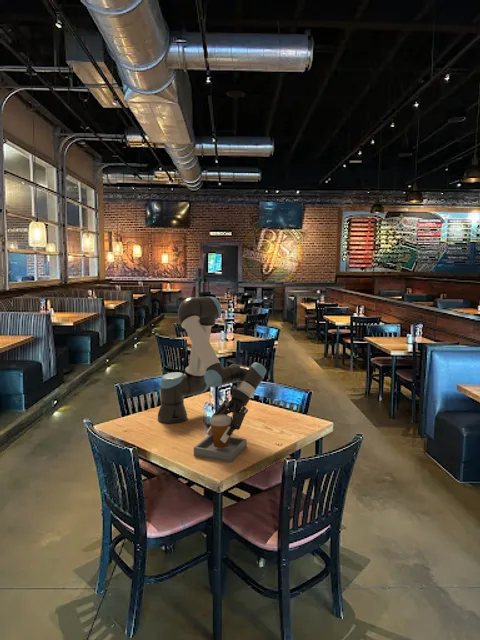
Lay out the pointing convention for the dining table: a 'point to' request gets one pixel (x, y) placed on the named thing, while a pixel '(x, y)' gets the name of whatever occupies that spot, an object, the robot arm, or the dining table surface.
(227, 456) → the tray
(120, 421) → the dining table surface
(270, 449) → the dining table surface
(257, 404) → the dining table surface
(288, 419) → the dining table surface
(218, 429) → the disposable coffee cup
